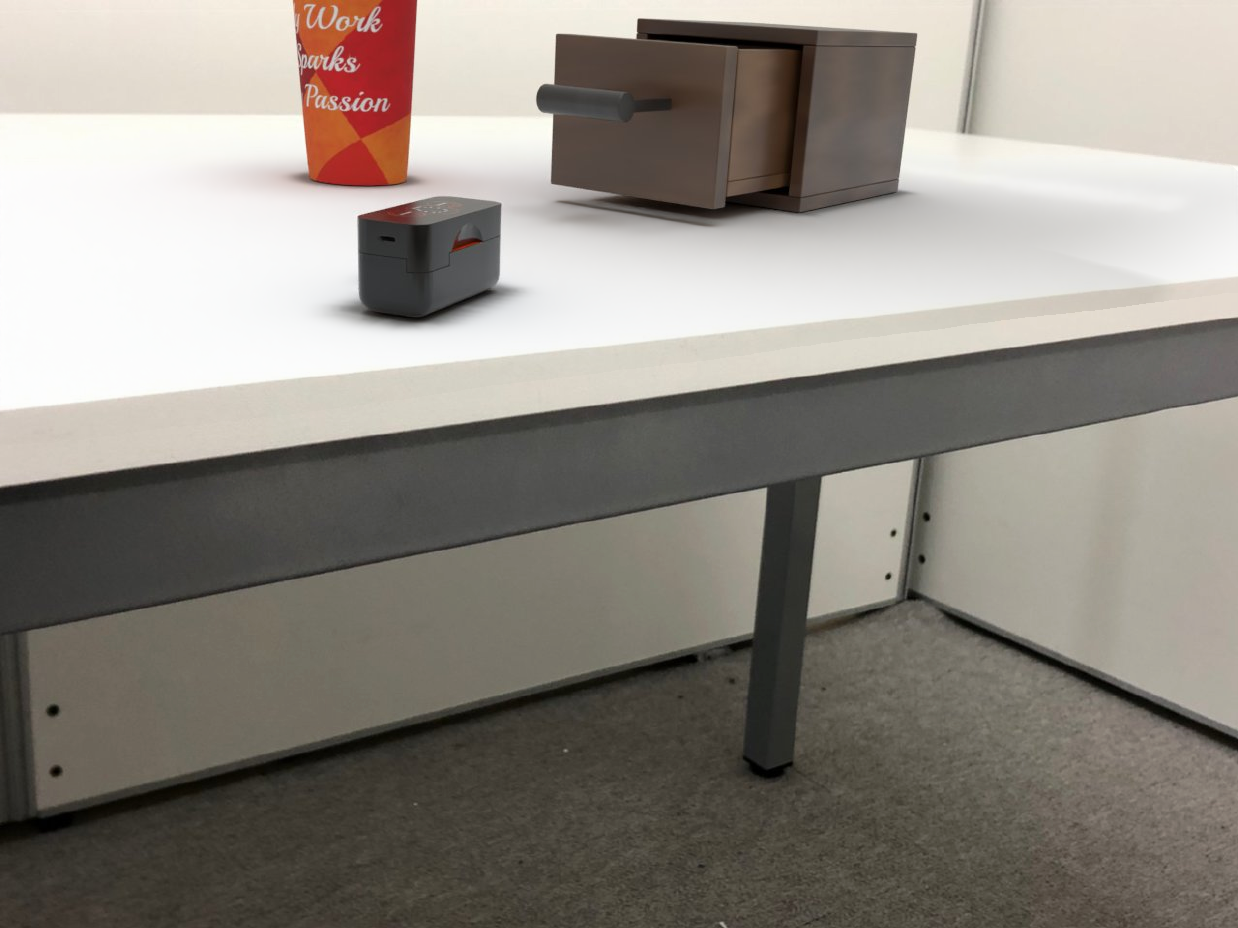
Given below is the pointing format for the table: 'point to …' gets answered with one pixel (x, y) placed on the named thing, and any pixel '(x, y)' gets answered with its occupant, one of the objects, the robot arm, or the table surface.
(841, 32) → the cabinet
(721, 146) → the drawer
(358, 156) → the paper cup
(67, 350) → the table surface
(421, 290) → the wireless earbuds
